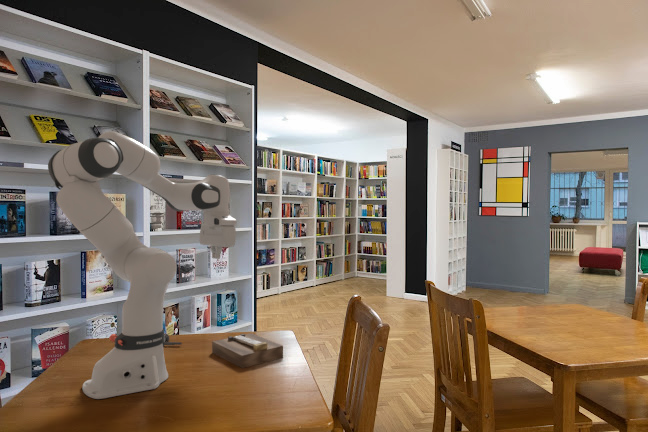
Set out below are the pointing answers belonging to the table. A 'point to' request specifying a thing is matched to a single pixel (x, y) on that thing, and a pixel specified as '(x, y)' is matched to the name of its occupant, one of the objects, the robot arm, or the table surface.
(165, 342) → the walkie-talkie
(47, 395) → the table surface
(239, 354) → the base
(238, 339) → the strap
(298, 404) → the table surface
